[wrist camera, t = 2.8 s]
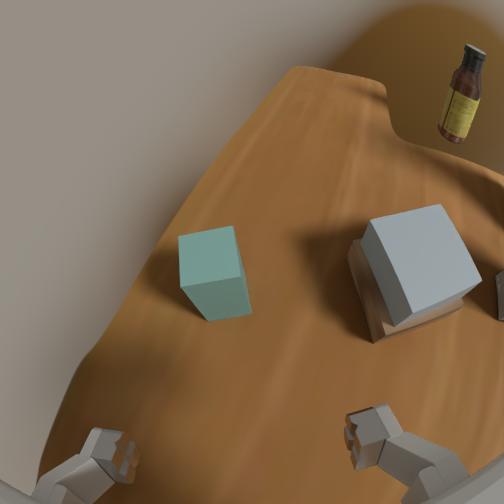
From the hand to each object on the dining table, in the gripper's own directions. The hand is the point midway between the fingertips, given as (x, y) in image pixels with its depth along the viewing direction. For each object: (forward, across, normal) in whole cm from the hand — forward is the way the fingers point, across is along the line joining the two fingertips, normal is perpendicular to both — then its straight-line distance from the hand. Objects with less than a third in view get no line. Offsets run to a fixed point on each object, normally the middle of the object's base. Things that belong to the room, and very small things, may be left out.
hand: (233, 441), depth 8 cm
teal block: (+21, +2, +3) cm, 21 cm away
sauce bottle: (+38, -42, -14) cm, 59 cm away
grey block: (+16, -17, +2) cm, 24 cm away
